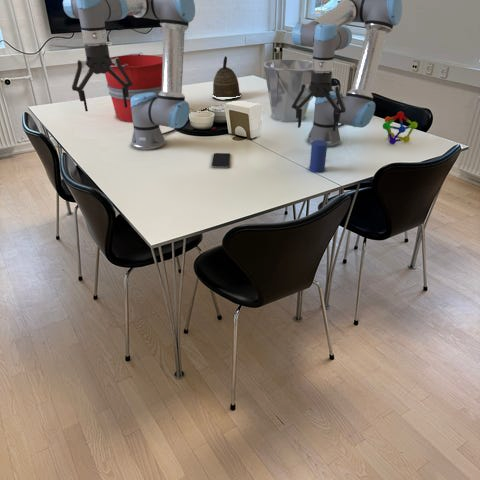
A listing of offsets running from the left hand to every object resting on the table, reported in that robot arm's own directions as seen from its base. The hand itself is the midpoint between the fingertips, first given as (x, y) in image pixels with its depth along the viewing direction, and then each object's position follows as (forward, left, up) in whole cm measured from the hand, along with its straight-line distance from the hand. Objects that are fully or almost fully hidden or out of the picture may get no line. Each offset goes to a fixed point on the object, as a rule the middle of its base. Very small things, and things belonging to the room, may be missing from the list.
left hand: (106, 108), depth 157 cm
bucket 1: (-87, -19, -28) cm, 93 cm away
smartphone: (-26, +37, -28) cm, 53 cm away
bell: (-132, +23, -28) cm, 137 cm away
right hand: (-20, +76, -10) cm, 79 cm away
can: (-22, +77, -28) cm, 85 cm away
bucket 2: (-95, +64, -28) cm, 118 cm away
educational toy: (-59, +116, -28) cm, 133 cm away
